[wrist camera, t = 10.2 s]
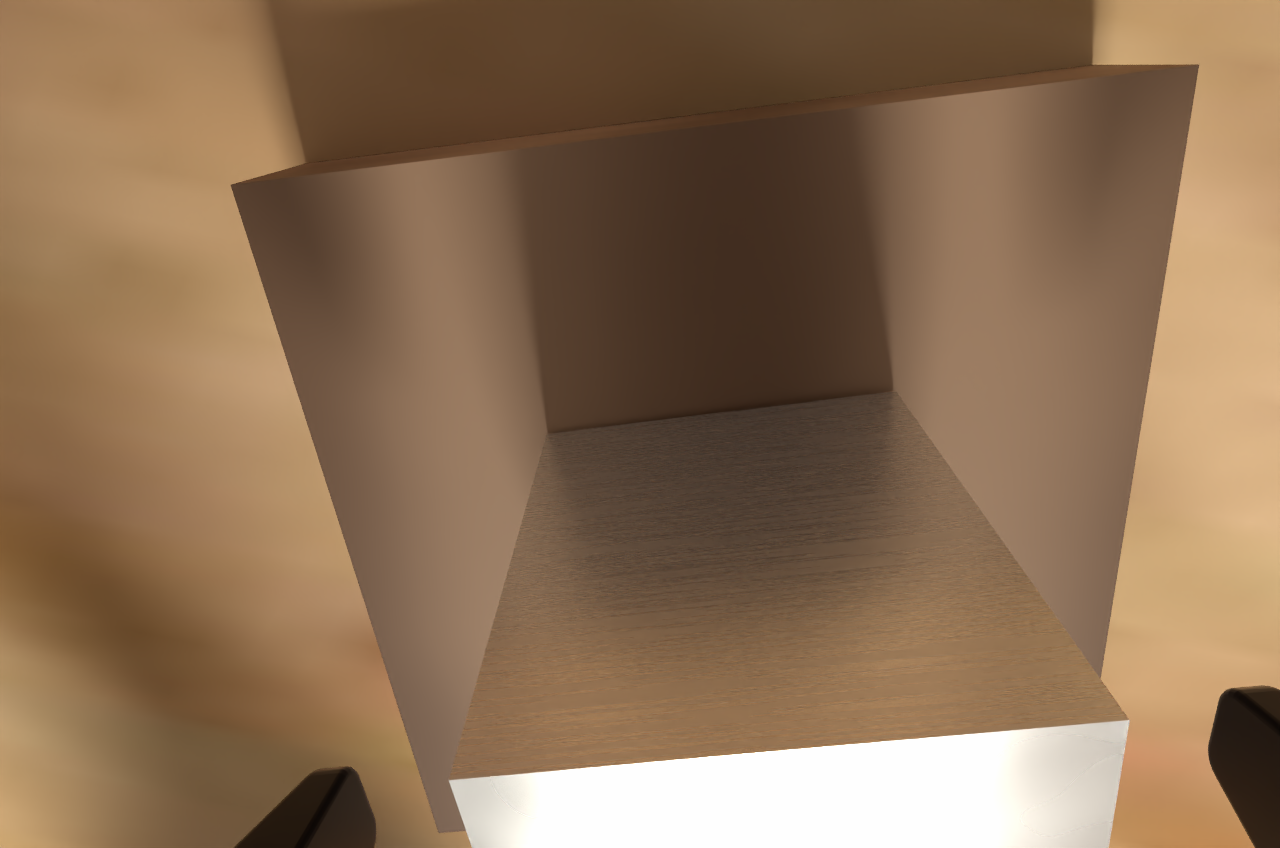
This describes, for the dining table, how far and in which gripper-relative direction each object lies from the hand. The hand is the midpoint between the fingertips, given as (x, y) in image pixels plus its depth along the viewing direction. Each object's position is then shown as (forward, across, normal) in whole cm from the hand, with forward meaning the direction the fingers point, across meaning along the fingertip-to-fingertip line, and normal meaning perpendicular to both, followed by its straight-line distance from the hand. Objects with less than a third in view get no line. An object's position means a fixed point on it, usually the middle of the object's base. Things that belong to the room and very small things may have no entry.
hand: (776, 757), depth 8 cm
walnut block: (+7, 0, 0) cm, 7 cm away
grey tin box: (+4, 0, 0) cm, 4 cm away
